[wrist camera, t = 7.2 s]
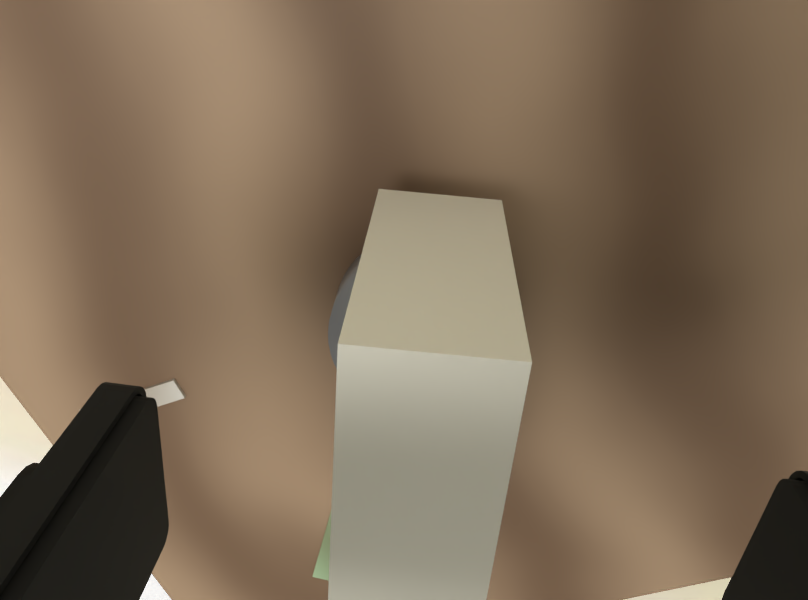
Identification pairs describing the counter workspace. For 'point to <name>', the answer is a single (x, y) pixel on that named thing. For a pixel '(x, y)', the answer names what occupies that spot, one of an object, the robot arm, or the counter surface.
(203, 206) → the dial board
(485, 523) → the knob
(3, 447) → the counter surface
